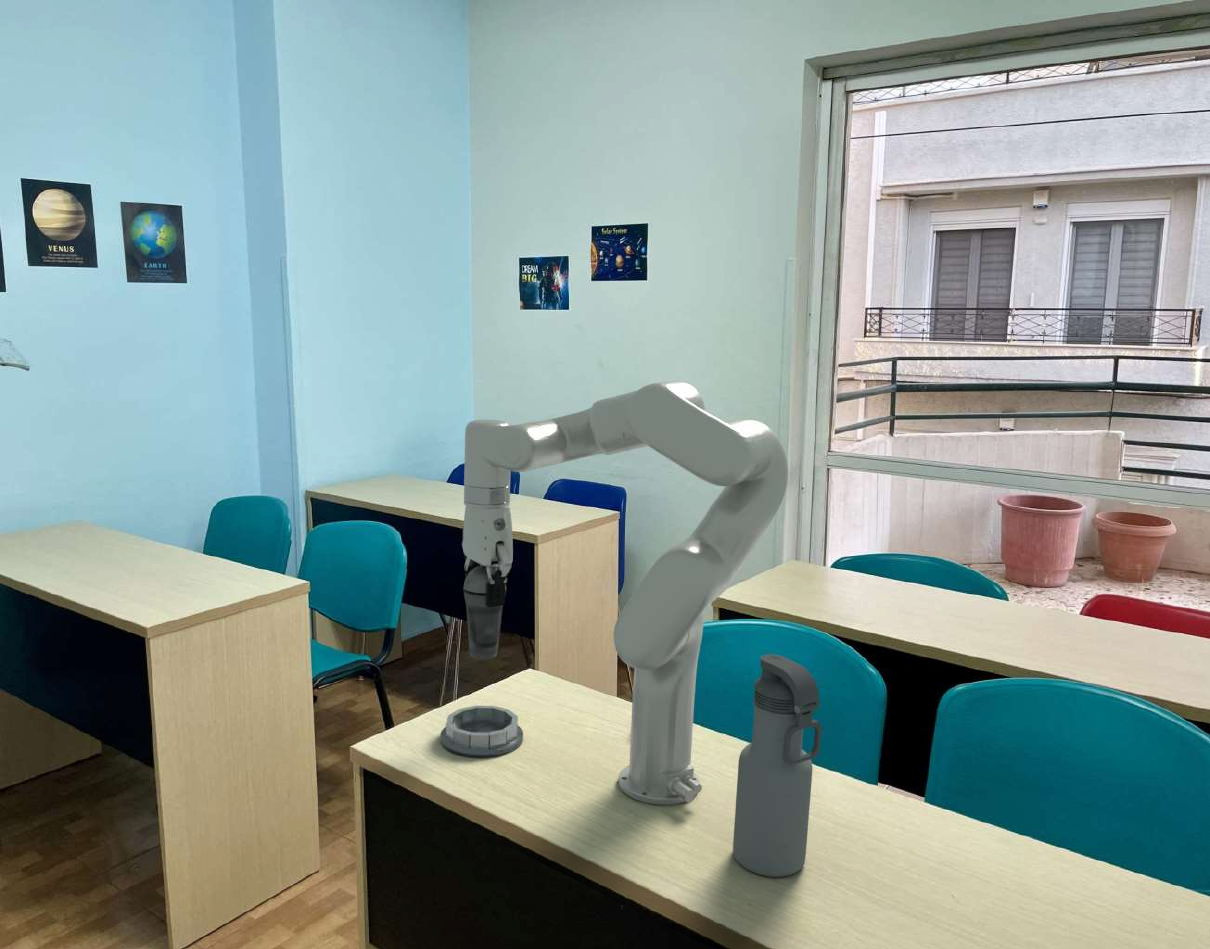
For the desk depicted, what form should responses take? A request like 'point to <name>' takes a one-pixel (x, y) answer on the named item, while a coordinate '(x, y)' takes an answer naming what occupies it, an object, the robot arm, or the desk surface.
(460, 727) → the base
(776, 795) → the water bottle
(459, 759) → the desk surface
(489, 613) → the beverage cup
